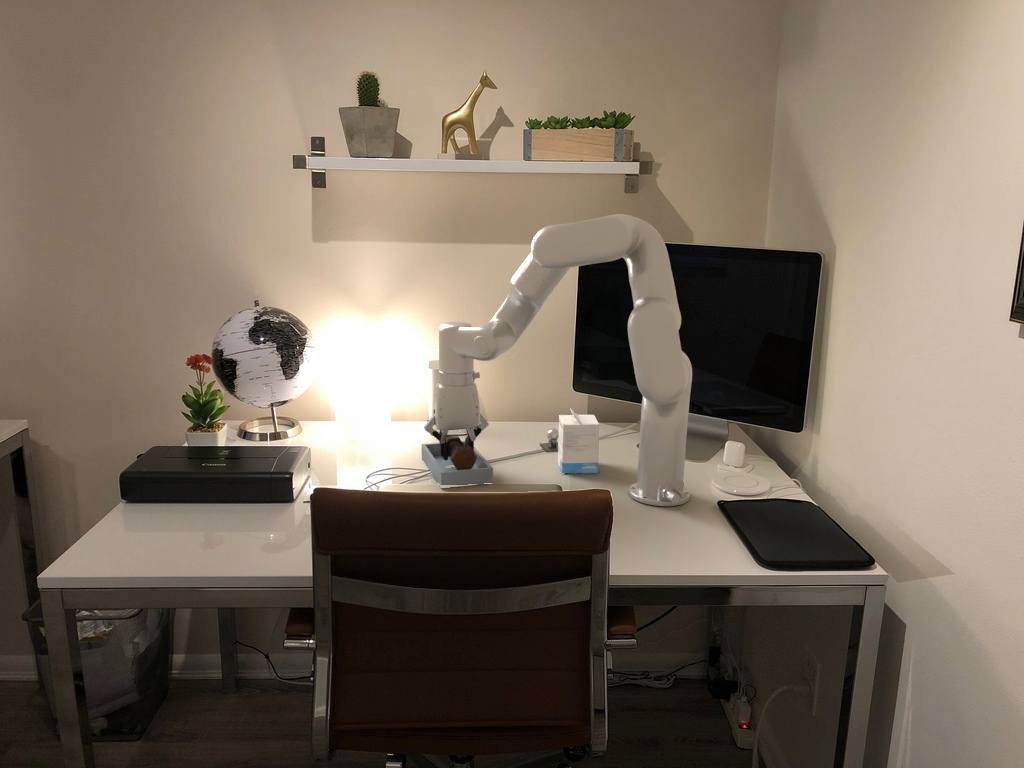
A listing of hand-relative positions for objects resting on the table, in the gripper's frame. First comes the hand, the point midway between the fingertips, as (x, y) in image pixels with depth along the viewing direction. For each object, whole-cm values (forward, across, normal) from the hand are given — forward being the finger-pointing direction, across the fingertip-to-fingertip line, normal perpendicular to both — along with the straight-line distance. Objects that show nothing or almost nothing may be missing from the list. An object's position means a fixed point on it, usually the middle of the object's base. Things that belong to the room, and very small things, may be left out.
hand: (456, 456), depth 186 cm
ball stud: (+3, -27, -10) cm, 29 cm away
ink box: (+4, -27, +5) cm, 28 cm away
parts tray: (+3, 0, 0) cm, 3 cm away
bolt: (+1, 0, 0) cm, 1 cm away
